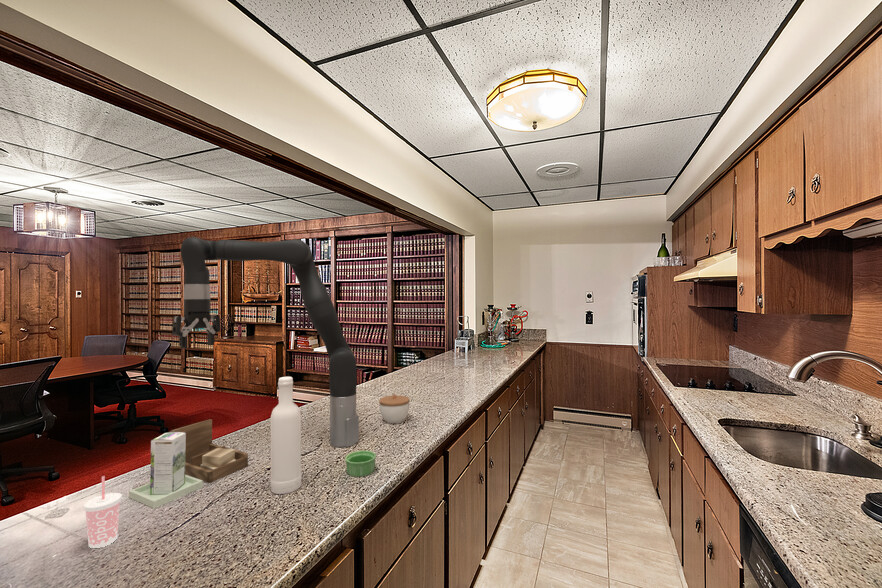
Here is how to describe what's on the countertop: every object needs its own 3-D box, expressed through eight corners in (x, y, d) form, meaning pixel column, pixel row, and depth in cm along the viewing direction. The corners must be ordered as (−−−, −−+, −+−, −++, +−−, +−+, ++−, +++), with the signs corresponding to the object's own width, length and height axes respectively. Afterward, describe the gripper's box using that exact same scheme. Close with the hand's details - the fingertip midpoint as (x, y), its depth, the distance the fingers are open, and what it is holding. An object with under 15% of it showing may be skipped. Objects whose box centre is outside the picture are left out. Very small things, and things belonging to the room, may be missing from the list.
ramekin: (339, 475, 111) (339, 460, 111) (356, 462, 120) (356, 448, 120) (365, 480, 108) (365, 464, 108) (381, 466, 116) (381, 452, 117)
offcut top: (234, 459, 117) (234, 449, 117) (219, 467, 111) (220, 457, 111) (217, 457, 118) (217, 448, 118) (202, 466, 112) (202, 455, 112)
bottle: (270, 483, 106) (270, 376, 107) (300, 478, 109) (300, 373, 110) (270, 497, 99) (269, 382, 99) (302, 491, 102) (301, 379, 102)
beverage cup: (77, 555, 77) (77, 485, 77) (91, 537, 83) (91, 473, 83) (115, 546, 80) (115, 479, 80) (126, 530, 85) (126, 467, 85)
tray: (203, 486, 105) (203, 480, 105) (153, 508, 94) (153, 501, 94) (178, 477, 110) (178, 472, 110) (129, 497, 100) (129, 490, 100)
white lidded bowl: (375, 418, 163) (375, 393, 163) (403, 414, 168) (403, 389, 168) (384, 427, 151) (384, 400, 152) (414, 423, 157) (413, 396, 157)
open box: (247, 466, 118) (247, 427, 118) (209, 483, 107) (208, 440, 107) (210, 455, 126) (210, 419, 126) (171, 470, 116) (170, 430, 116)
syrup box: (164, 484, 105) (163, 432, 105) (186, 483, 106) (186, 431, 106) (149, 495, 100) (149, 439, 100) (173, 494, 100) (173, 439, 100)
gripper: (181, 298, 119) (181, 350, 118) (224, 297, 131) (225, 344, 131) (167, 298, 122) (167, 348, 122) (211, 298, 135) (211, 343, 134)
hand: (197, 346), depth 126 cm, fingers open, 8 cm apart
